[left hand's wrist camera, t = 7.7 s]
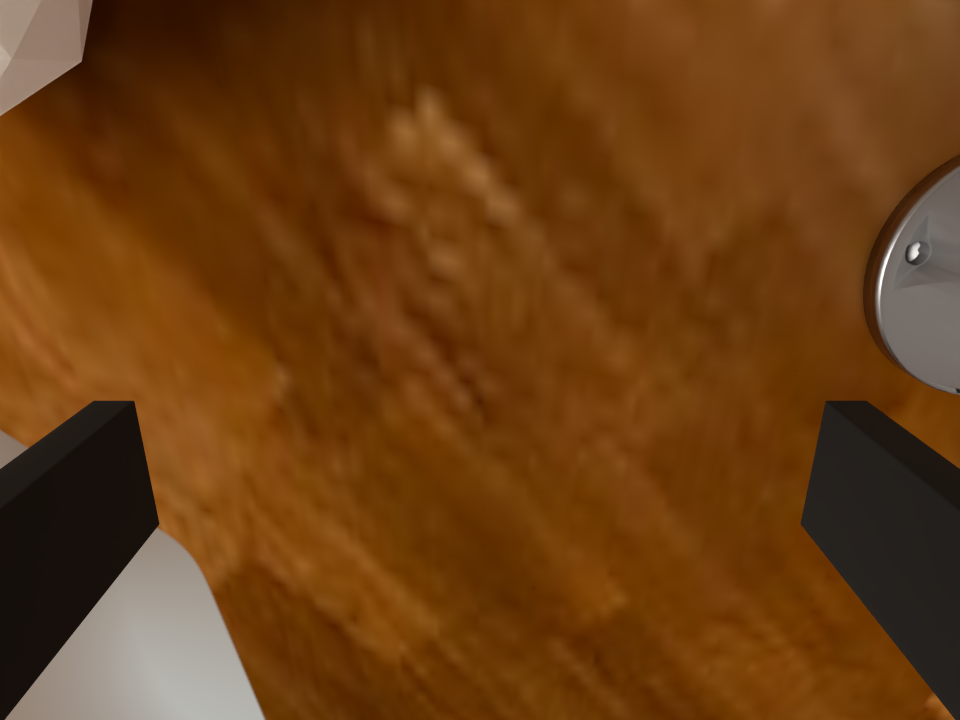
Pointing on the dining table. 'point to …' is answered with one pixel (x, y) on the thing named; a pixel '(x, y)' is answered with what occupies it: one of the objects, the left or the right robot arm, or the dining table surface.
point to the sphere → (38, 44)
